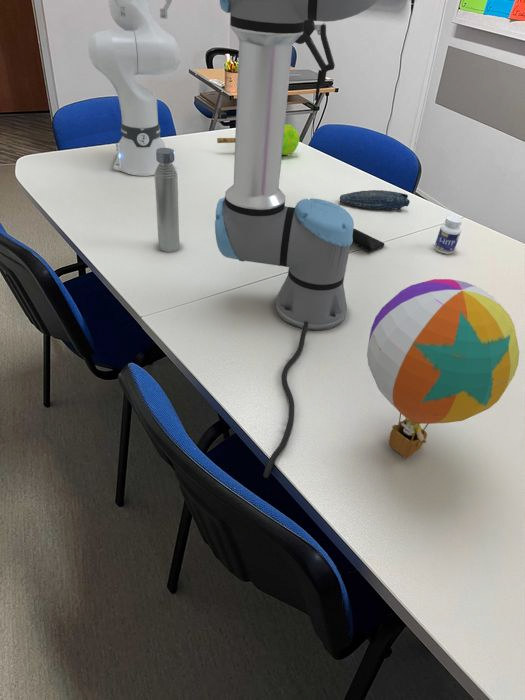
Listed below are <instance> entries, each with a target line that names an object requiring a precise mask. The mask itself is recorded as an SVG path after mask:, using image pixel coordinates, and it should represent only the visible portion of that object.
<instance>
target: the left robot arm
mask: <svg viewBox="0 0 525 700" xmlns="http://www.w3.org/2000/svg"><path fill="white" fill-rule="evenodd" d="M172 1H173V0H165V3H164V5H163V8H159V18H160V19H165V20H167V19H168V11H169V8H170V6H171V4H172ZM108 6H109V7H108V8H109V13H110V16H111V17H112V20H113V21H114V22H115V24H116V25H117V26H118V27H119V28H121V29H119V30H118V29H107V30H101V31H97V32H96V31H95V32H93V34H92V35H91V36H90V38H89V41H88V46H87V47H88V49H87V51H88V57H89V60H90V62H91V63H92V65H93V66H94V67H95V69H96V70H97V71H98V72H100V73H101V74H102V75H104V76H105V77H106V79H107V80H108V81H109V82H110V83H111V85H112V86H113V88H114V90H115V93H116V95H117V98H118V102H119V109H120V115H121V116H120V117H121V123H120V134H121V138H120V140H119V141H118V142H116V143H115V149H116V151H118V153H117V156H116V159H115V161H114V164H113V170H114V171H118V172H123V173H125V174H127V175H132V176H139V177H140V176H141V177H146V176H147V177H148V176H155V170H156V168H157V166H158V164H159V162H157V160H156V150H157V149H159V148H167V147H166V142H165V141H164V140H163V139H162V137H161V126H160V123H159V116H158V115H159V113H158V99H157V96H156V95H155V94H154V92H152V91H151V90H150V89H149V88H147V87H145V86H144V85H141V84H139V83H138V82H137V81H136V79H135V76H137V75H147V76H148V75H150V76H152V75H154V76H155V75H156V76H161V75H166V74H170V73H174V72H175V71H177V69H178V67H179V65H180V61H181V50H180V46H179V44H178V42H177V39H175V37H174V36H173V35H172V34H170V33H168V32H167V31H166V30H164V29H163V28H162V27H161V25H159V24H158V23H157V21H156V20H155V18H154V17H153V15H152V13H151V11H150V6H149V2H148V0H108ZM175 152H176V151H174V156H175V155H176V153H175Z"/></svg>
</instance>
